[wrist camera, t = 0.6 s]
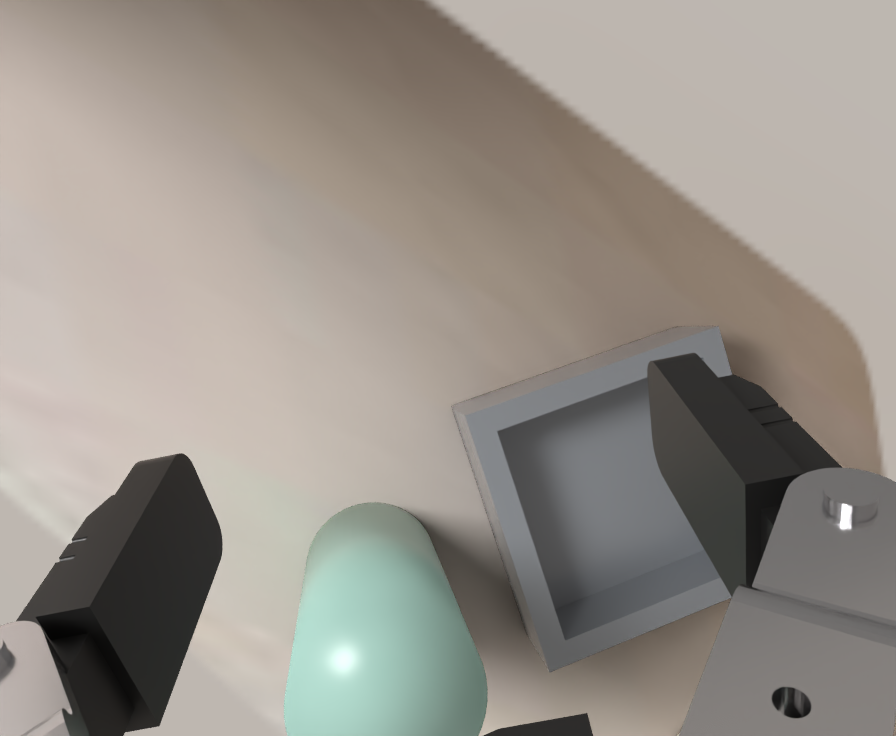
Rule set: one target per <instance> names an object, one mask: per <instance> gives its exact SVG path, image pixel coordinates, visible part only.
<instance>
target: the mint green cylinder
mask: <svg viewBox="0 0 896 736" xmlns="http://www.w3.org/2000/svg"><path fill="white" fill-rule="evenodd" d="M486 707H487V681H486V675H485V671H484V667H483V664H482V661H481V659H480V656H479V654H478V652H477V649H476V647H475V644H474V642H473V640H472V637H471V635H470V632H469V630H468V628H467V625H466V623H465V620H464V618H463V616H462V613H461V611H460V608H459V606H458V604H457V601H456V599H455V596H454V594H453V592H452V589H451V587H450V584H449V582H448V580H447V577H446V575H445V572H444V570H443V568H442V565H441V563H440V560H439V558H438V556H437V553H436V551H435V548H434V546H433V544H432V541H431V539H430V536H429V535H428V533H427V531H426V529H425V528H424V527H423V526H422V524H421V523H420V522H419V521H418V520H417V519H416V518H415V517H414V516H412V515H411V514H410V513H408V512H407V511H405V510H403V509H401V508H399V507H396V506H393V505H389V504H385V503H363V504H358V505H355V506H351V507H349V508H347V509H344V510H342V511H341V512H339V513H337V514H336V515H334V516H333V517H332V518H330V519H329V520H328V521H327V522H326V523H325V524H324V525H323V526H322V527H321V529H320V530H319V531H318V533H317V534H316V536H315V538H314V539H313V541H312V544H311V546H310V549H309V553H308V556H307V562H306V568H305V575H304V581H303V587H302V593H301V599H300V605H299V612H298V618H297V624H296V630H295V636H294V642H293V649H292V655H291V661H290V667H289V673H288V680H287V686H286V692H285V700H284V720H285V726H286V732H287V735H288V736H478V735H479V733H480V730H481V728H482V725H483V721H484V718H485V714H486Z"/></svg>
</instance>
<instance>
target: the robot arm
mask: <svg viewBox="0 0 896 736" xmlns="http://www.w3.org/2000/svg"><path fill="white" fill-rule="evenodd" d="M647 378H648V391H649V404H650V417H651V429H652V441H653V448H654V453H655V457H656V460H657V464H658V467H659V469H660V472H661V474H662V476H663V478H664V480H665V482H666V483H667V485H668V487H669V488H670V490H671V492H672V494H673V495H674V497H675V499H676V501H677V502H678V504H679V506H680V508H681V509H682V511H683V513H684V515H685V516H686V518H687V520H688V522H689V523H690V525H691V527H692V529H693V530H694V532H695V534H696V536H697V537H698V539H699V541H700V543H701V544H702V546H703V548H704V550H705V551H706V553H707V555H708V557H709V558H710V560H711V562H712V563H713V565H714V567H715V569H716V570H717V572H718V574H719V576H720V577H721V579H722V581H723V583H724V584H725V586H726V588H727V590H728V591H729V593H730V595H731V597H732V599H731V601H730V604H729V606H728V609H727V611H726V614H725V617H724V619H723V622H722V624H721V627H720V630H719V632H718V635H717V638H716V640H715V643H714V645H713V648H712V651H711V653H710V656H709V658H708V661H707V664H706V666H705V669H704V671H703V674H702V677H701V679H700V682H699V685H698V687H697V690H696V692H695V695H694V698H693V700H692V703H691V705H690V708H689V711H688V713H687V716H686V718H685V721H684V724H683V726H682V729H681V732H680V734H679V736H893V732H894V724H895V716H896V482H894V481H892V480H890V479H888V478H886V477H884V476H881V475H878V474H875V473H872V472H868V471H864V470H859V469H852V468H842V467H841V466H840V465H839V464H838V463H837V462H836V461H835V460H834V459H833V458H832V457H831V456H830V455H829V454H828V453H827V452H826V451H825V450H824V449H823V448H822V447H821V446H820V445H819V444H818V443H817V442H816V441H815V440H814V439H813V438H812V437H811V436H810V435H809V434H808V433H807V432H806V431H805V430H804V429H803V428H802V427H801V426H800V425H799V424H798V423H797V422H793V420H792V417H791V416H790V415H789V414H788V413H787V412H786V411H785V410H784V409H783V408H782V407H779V406H778V403H777V402H776V401H775V400H774V399H773V398H772V397H771V396H770V395H769V394H768V393H767V392H766V391H765V390H764V389H763V388H762V387H760V386H758V385H756V384H754V383H751V382H749V381H747V380H745V379H742V378H740V377H738V376H736V375H729V376H724V377H719V378H718V377H717V376H716V374H715V373H714V372H713V371H712V370H711V369H710V368H709V367H708V366H707V364H706V363H705V362H704V361H703V360H702V359H701V358H700V357H699V356H698V355H697V354H696V353H689V354H684V355H679V356H674V357H669V358H664V359H659V360H654V361H650V362H649V363H648V368H647ZM221 556H222V534H221V529H220V526H219V523H218V520H217V518H216V516H215V514H214V511H213V509H212V507H211V505H210V502H209V500H208V498H207V495H206V493H205V491H204V489H203V486H202V484H201V482H200V479H199V477H198V475H197V473H196V470H195V468H194V466H193V464H192V462H191V460H190V459H189V458H188V457H187V456H186V455H185V454H175V455H170V456H165V457H160V458H155V459H150V460H145V461H140V462H138V463H136V464H135V465H134V467H133V468H132V470H131V471H130V473H129V474H128V476H127V477H126V479H125V480H124V482H123V483H122V485H121V486H120V488H119V490H118V491H117V493H116V494H115V495H113V496H111V497H110V498H108V499H107V500H106V501H105V502H104V503H103V504H102V505H100V506H99V507H98V508H97V509H96V510H95V511H93V512H92V513H91V514H90V515H89V516H88V517H87V518H86V519H85V521H84V522H83V524H82V525H81V527H80V528H79V530H78V531H77V532H76V534H75V535H74V537H73V538H72V543H71V544H68V546H67V547H66V549H65V550H64V552H63V553H62V555H61V556H60V557H59V559H60V562H58V563H55V565H54V566H53V568H52V569H51V571H50V572H49V574H48V575H47V577H46V578H45V579H44V581H43V582H42V584H41V585H40V587H39V588H38V590H37V591H36V593H35V594H34V596H33V597H32V599H31V600H30V602H29V603H28V604H27V606H26V607H25V609H24V610H23V612H22V613H21V615H20V616H19V618H18V619H17V621H16V622H11V623H7V624H4V625H1V626H0V736H123V735H124V733H125V732H129V731H135V730H140V729H145V728H151V727H157V726H159V725H160V723H161V720H162V717H163V715H164V712H165V709H166V706H167V704H168V701H169V698H170V696H171V693H172V690H173V687H174V685H175V682H176V679H177V677H178V674H179V671H180V669H181V666H182V663H183V660H184V658H185V655H186V652H187V650H188V647H189V644H190V641H191V639H192V636H193V633H194V631H195V628H196V625H197V622H198V620H199V617H200V614H201V612H202V609H203V606H204V603H205V601H206V598H207V595H208V593H209V590H210V587H211V584H212V582H213V579H214V576H215V574H216V571H217V568H218V565H219V563H220V560H221ZM484 736H593V734H592V730H591V726H590V722H589V718H588V715H587V713H586V714H580V715H575V716H569V717H563V718H558V719H552V720H546V721H541V722H535V723H529V724H524V725H518V726H512V727H507V728H501V729H498V730H495V731H493V732H491V733H488V734H486V735H484Z"/></svg>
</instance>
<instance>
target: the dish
mask: <svg viewBox="0 0 896 736" xmlns="http://www.w3.org/2000/svg"><path fill="white" fill-rule="evenodd" d="M689 353H696V354H697V355H698V356H699V357H700V358H701V359H702V360H703V361H704V362H705V363H706V364H707V366H708V367H709V368H710V369H711V370H712V371H713V372H714V373H715V374H716V376H717V377H718V378H719V377H724V376H729V375H732V372H731V368H730V365H729V361H728V358H727V354H726V351H725V348H724V344H723V341H722V337H721V334H720V330H719V327H718V326H681V327H674V328H671V329H668V330H666V331H663V332H660V333H657V334H654V335H651V336H649V337H646V338H643V339H640V340H637V341H634V342H631V343H629V344H626V345H623V346H620V347H617V348H614V349H611V350H609V351H606V352H603V353H600V354H597V355H594V356H592V357H589V358H586V359H583V360H580V361H577V362H574V363H572V364H569V365H566V366H563V367H560V368H557V369H555V370H552V371H549V372H546V373H543V374H540V375H537V376H535V377H532V378H529V379H526V380H523V381H520V382H518V383H515V384H512V385H509V386H506V387H503V388H500V389H498V390H495V391H492V392H489V393H486V394H483V395H480V396H478V397H475V398H472V399H469V400H466V401H463V402H461V403H458V404H455V405H452V406H451V407H452V410H453V413H454V416H455V419H456V422H457V425H458V428H459V431H460V434H461V437H462V440H463V443H464V446H465V449H466V452H467V455H468V458H469V461H470V464H471V467H472V470H473V473H474V476H475V479H476V482H477V485H478V489H479V492H480V495H481V498H482V501H483V504H484V507H485V510H486V513H487V516H488V519H489V522H490V525H491V528H492V531H493V534H494V537H495V540H496V543H497V546H498V549H499V552H500V555H501V558H502V561H503V564H504V567H505V570H506V573H507V576H508V579H509V582H510V585H511V588H512V591H513V594H514V597H515V600H516V603H517V606H518V609H519V612H520V615H521V618H522V621H523V624H524V627H525V630H526V633H527V635H528V637H529V639H530V640H531V642H532V644H533V645H534V647H535V649H536V650H537V652H538V654H539V655H540V657H541V659H542V660H543V662H544V664H545V665H546V667H547V669H548V670H549V672H552V671H554V670H557V669H559V668H562V667H564V666H566V665H569V664H571V663H574V662H576V661H579V660H581V659H583V658H586V657H588V656H591V655H593V654H596V653H598V652H600V651H603V650H605V649H608V648H610V647H613V646H615V645H617V644H620V643H622V642H625V641H627V640H630V639H632V638H634V637H637V636H639V635H642V634H644V633H647V632H649V631H652V630H654V629H656V628H659V627H661V626H664V625H666V624H669V623H671V622H673V621H676V620H678V619H681V618H683V617H686V616H688V615H690V614H693V613H695V612H698V611H700V610H703V609H705V608H707V607H710V606H712V605H715V604H717V603H720V602H722V601H724V600H727V599H729V598H732V597H731V595H730V593H729V591H728V590H727V588H726V586H725V584H724V583H723V581H722V579H721V577H720V576H719V574H718V572H717V570H716V569H715V567H714V565H713V563H712V562H711V560H710V558H709V557H708V555H707V553H706V551H705V550H704V548H703V546H702V544H701V543H700V541H699V539H698V537H697V536H696V534H695V532H694V530H693V529H692V527H691V525H690V523H689V522H688V520H687V518H686V516H685V515H684V513H683V511H682V509H681V508H680V506H679V504H678V502H677V501H676V499H675V497H674V495H673V494H672V492H671V490H670V488H669V487H668V485H667V483H666V482H665V480H664V478H663V476H662V474H661V472H660V469H659V467H658V464H657V460H656V457H655V453H654V448H653V441H652V429H651V417H650V404H649V391H648V378H647V368H648V363H649V362H650V361H654V360H659V359H664V358H669V357H674V356H679V355H684V354H689Z"/></svg>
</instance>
